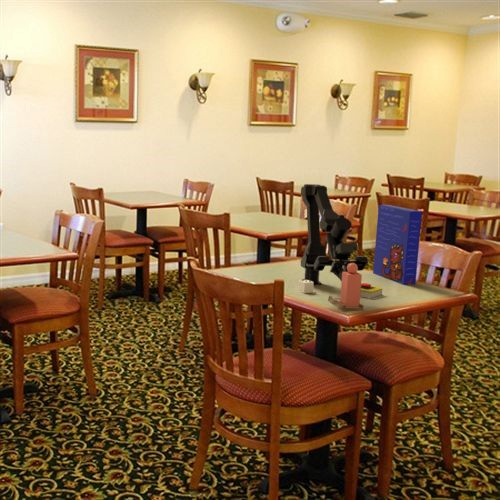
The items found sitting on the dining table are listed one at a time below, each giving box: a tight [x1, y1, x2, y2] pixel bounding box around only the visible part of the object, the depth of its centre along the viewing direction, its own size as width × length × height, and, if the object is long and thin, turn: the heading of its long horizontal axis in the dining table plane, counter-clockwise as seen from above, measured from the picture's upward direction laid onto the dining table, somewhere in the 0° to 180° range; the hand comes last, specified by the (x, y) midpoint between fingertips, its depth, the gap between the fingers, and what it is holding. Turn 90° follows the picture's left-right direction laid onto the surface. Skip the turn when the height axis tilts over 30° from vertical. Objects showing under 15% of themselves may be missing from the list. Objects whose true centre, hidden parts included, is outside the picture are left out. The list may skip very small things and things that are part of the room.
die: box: [297, 279, 315, 294], centre depth 249 cm, size 4×4×4 cm
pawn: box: [339, 263, 363, 307], centre depth 227 cm, size 5×5×15 cm
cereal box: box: [372, 204, 423, 286], centre depth 278 cm, size 22×6×30 cm, turn 23°
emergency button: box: [339, 282, 386, 300], centre depth 250 cm, size 9×4×15 cm
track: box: [327, 295, 365, 312], centre depth 232 cm, size 14×8×2 cm, turn 15°
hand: (346, 283), depth 231 cm, fingers closed
